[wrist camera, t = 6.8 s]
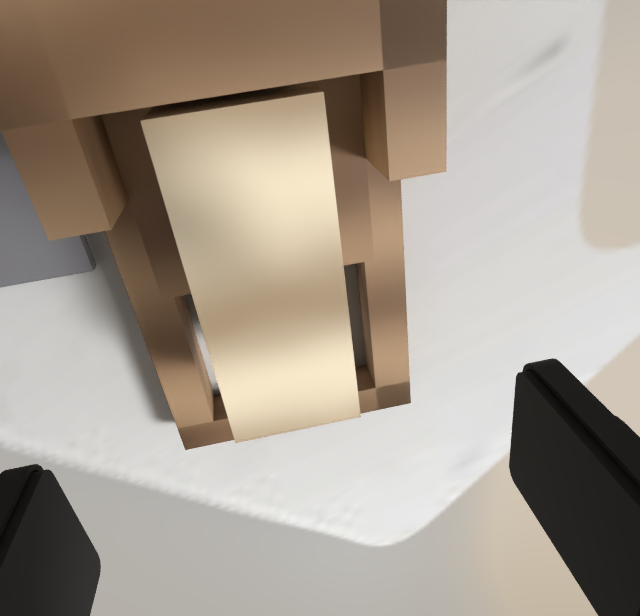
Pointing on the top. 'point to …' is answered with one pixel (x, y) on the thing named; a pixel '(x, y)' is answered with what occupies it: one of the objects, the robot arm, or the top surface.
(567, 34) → the top surface
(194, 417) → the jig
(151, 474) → the top surface
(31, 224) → the mat
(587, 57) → the top surface
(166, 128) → the slab
